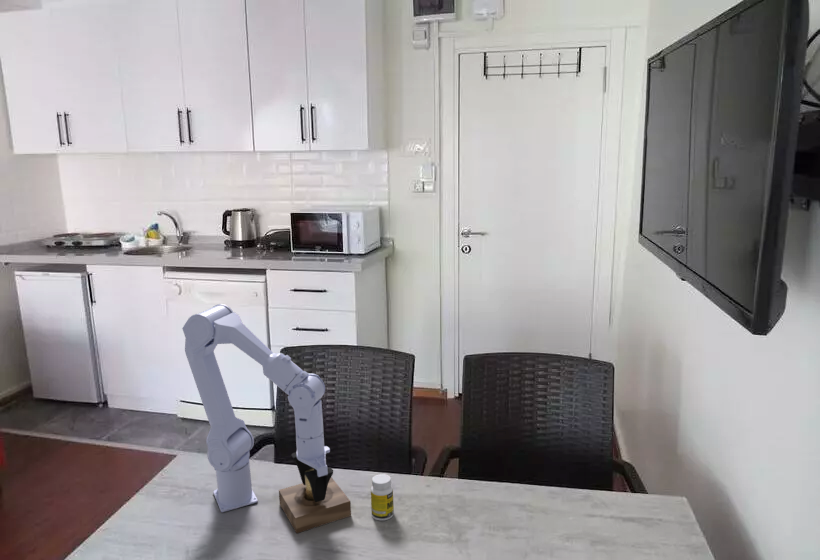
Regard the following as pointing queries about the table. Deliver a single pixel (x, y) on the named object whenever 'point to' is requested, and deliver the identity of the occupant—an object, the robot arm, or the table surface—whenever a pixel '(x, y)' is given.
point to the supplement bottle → (382, 497)
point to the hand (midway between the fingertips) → (313, 491)
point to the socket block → (314, 506)
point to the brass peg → (308, 488)
